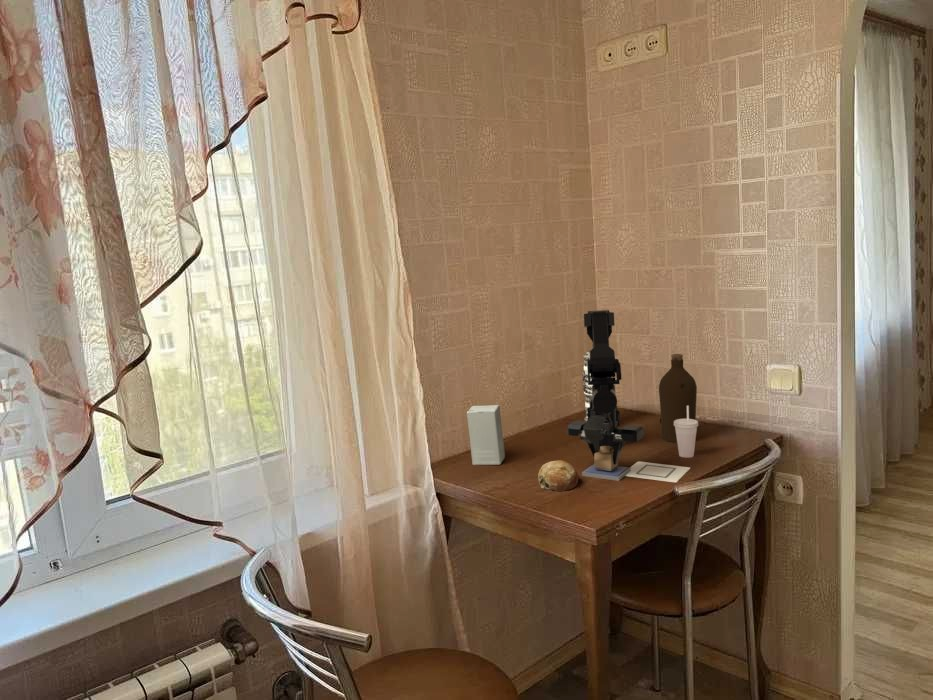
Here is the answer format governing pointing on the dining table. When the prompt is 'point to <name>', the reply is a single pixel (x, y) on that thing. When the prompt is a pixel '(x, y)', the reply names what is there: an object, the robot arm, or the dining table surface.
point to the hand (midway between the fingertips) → (606, 463)
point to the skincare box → (486, 435)
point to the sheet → (657, 471)
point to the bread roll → (557, 476)
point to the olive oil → (676, 397)
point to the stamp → (604, 459)
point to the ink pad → (607, 473)
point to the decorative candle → (587, 388)
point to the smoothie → (686, 435)
